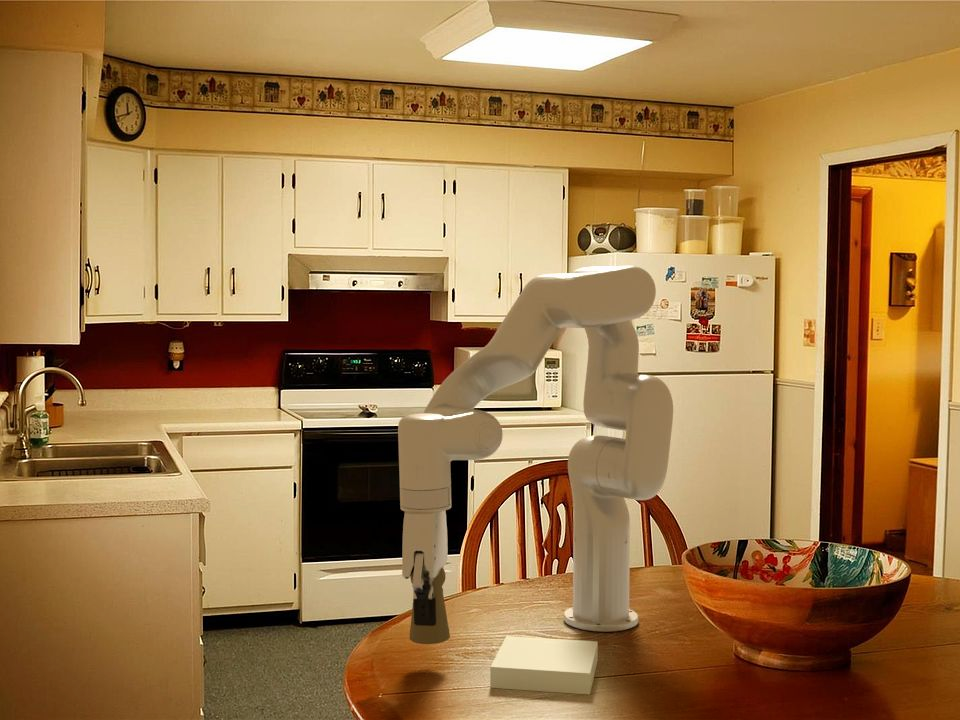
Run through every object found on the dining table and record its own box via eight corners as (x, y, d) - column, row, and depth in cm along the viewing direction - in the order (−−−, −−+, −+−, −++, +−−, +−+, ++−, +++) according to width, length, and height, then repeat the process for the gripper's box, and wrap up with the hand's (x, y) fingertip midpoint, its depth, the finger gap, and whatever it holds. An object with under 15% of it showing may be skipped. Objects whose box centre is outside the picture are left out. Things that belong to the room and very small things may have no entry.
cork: (449, 629, 161) (447, 558, 161) (450, 643, 155) (448, 569, 155) (410, 631, 161) (407, 559, 160) (408, 644, 155) (406, 570, 154)
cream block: (506, 655, 164) (506, 635, 164) (597, 660, 161) (597, 641, 161) (490, 687, 150) (490, 666, 150) (589, 694, 148) (589, 673, 147)
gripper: (414, 486, 166) (418, 601, 167) (385, 510, 149) (389, 637, 151) (462, 487, 164) (465, 603, 166) (437, 511, 148) (441, 639, 149)
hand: (429, 618), depth 158 cm, fingers closed on cork, 4 cm apart
